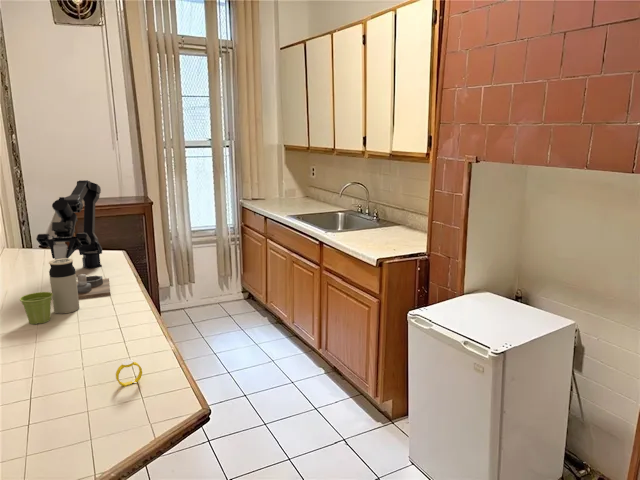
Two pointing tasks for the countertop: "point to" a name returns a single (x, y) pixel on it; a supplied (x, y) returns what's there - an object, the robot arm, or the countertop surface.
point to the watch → (127, 364)
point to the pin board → (92, 286)
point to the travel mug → (63, 286)
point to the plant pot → (37, 306)
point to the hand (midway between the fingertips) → (60, 257)
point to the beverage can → (60, 251)
